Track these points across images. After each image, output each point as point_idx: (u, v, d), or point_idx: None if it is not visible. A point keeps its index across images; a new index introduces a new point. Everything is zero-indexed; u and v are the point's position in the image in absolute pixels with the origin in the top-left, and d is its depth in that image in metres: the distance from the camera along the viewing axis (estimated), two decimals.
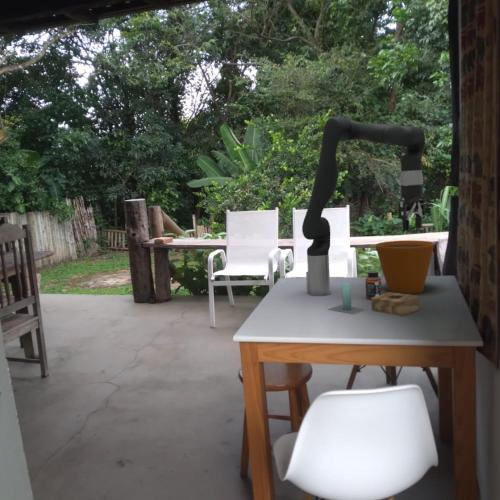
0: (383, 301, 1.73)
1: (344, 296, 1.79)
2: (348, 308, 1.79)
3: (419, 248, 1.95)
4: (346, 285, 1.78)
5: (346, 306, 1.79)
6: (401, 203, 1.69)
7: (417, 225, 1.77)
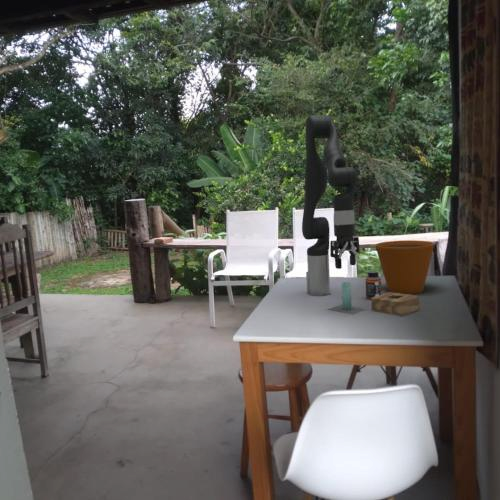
0: (383, 301, 1.73)
1: (344, 296, 1.79)
2: (348, 308, 1.79)
3: (419, 248, 1.95)
4: (346, 285, 1.78)
5: (346, 306, 1.79)
6: (333, 242, 1.73)
7: (351, 262, 1.81)
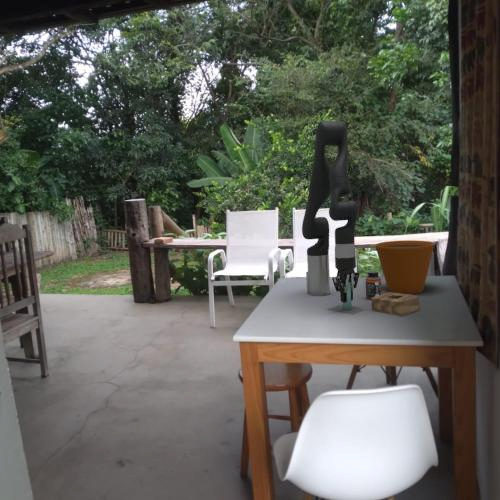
0: (383, 301, 1.73)
1: None
2: (348, 308, 1.79)
3: (419, 248, 1.95)
4: None
5: (346, 306, 1.79)
6: (335, 280, 1.75)
7: None
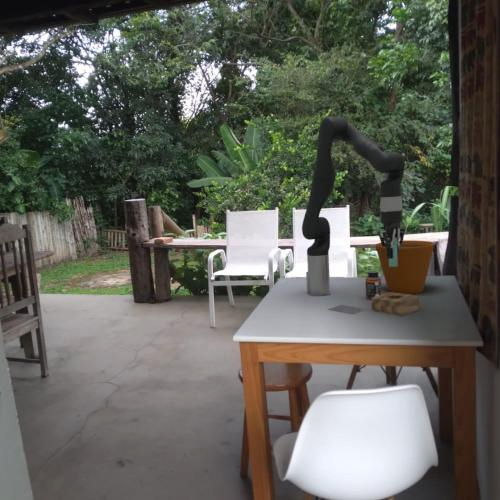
0: (383, 301, 1.73)
1: None
2: (394, 264, 1.73)
3: (419, 248, 1.95)
4: None
5: (392, 263, 1.73)
6: (381, 234, 1.69)
7: None
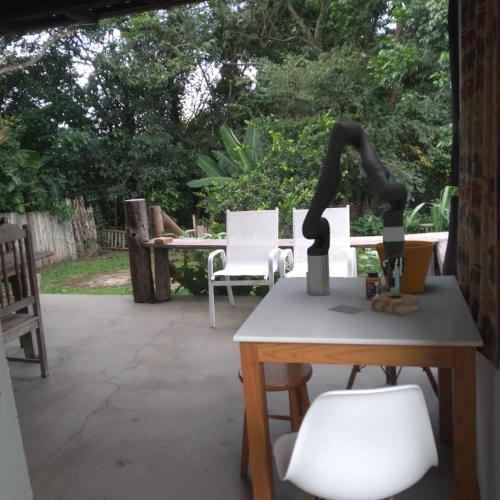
0: (383, 301, 1.73)
1: None
2: (396, 293, 1.74)
3: (419, 248, 1.95)
4: None
5: (394, 292, 1.75)
6: (384, 264, 1.70)
7: None
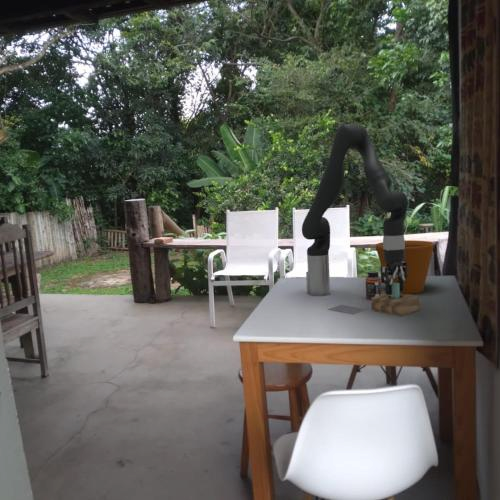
0: (383, 301, 1.73)
1: (393, 297, 1.75)
2: None
3: (419, 248, 1.95)
4: (396, 285, 1.74)
5: None
6: (383, 269, 1.70)
7: (399, 288, 1.78)
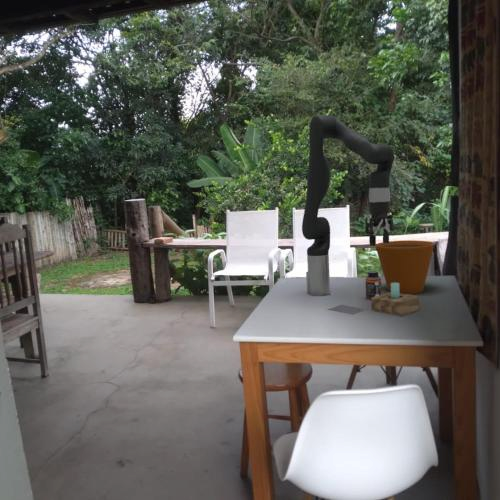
0: (383, 301, 1.73)
1: (393, 297, 1.75)
2: None
3: (419, 248, 1.95)
4: (395, 285, 1.74)
5: None
6: (368, 219, 1.73)
7: (384, 240, 1.82)
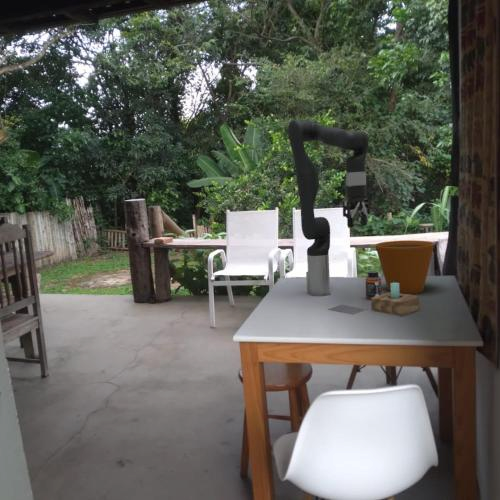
0: (383, 301, 1.73)
1: (393, 297, 1.75)
2: None
3: (419, 248, 1.95)
4: (395, 285, 1.74)
5: None
6: (345, 202, 1.81)
7: (362, 223, 1.90)
